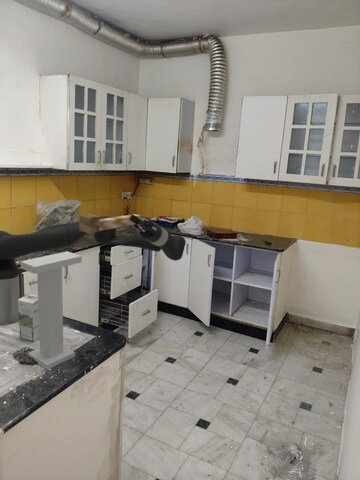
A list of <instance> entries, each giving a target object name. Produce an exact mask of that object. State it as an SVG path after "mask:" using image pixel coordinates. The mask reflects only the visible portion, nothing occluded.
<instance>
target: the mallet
mask: <svg viewBox="0 0 360 480" xmlns="http://www.w3.org/2000/svg"><path fill="white" fill-rule="evenodd" d="M131 215H135V216H136V217H138V218H141V215H140V214H135V213H133V214H128V215H125V216H123V215H120V216H119V215H118V216H113V217H112V216H111V217H112V218H105V219H100V217H101V216H100V215H94V214H91V213H88V214H87V213H85V214H79V218H78V222H79V231H82V232H86V233H87V234H94V233H96V232H100V231H102V230H107V229H113V228H116V229H118V228H123V227H129V225H135V223H134V222H132V221H131V220H130V217H131Z"/></svg>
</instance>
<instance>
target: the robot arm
mask: <svg viewBox="0 0 360 480" xmlns="http://www.w3.org/2000/svg"><path fill="white" fill-rule="evenodd" d="M125 215H129V214H128V213H126V212H124V213H123V215H122V216H125ZM130 215H131V217H130V220H131V221H132V222H134V223H135V225H129V226H128V227H129V228H134V229H136V231H137V233H135V234H131V235H127V236H118V235H116V234H117V228H113V229H107V230H102V231H100V232H96V233H93V239H94V241H95V242H97V243H99V244H103V245H109V246H110V245H111V246H120V247H131V248H132V247H133V248H139V249H145V250H149V251H152V252H161V251H162V252H163V254H164V255H165V256H166V258H168V259H170V260H171V261H180V260H181V259H182V258H183V256H184V255H183V254H184V251H185V246H186V243H187V240H186V239H185V238H184V236H182V235H178V234H177V235H176V234H175V235H173V234H171V233H170V232H168V231H167V230H166V229H165V228H164V227H162V226H161V225H159V224H158V223H157V222H155V221H153V220H146V219H143V218H142V217H140V218H138V217H136V216H135V215H132V214H130ZM105 218H112V216H108V215H104V216H100V219H105ZM87 234H88V233H86V232H82V231H79V221H76V222H69V223H67V222H66V223H60V224H53V225H49V226H46V227H43V228H41V229H39V230H37V231H35V232H31V233H25V234H24V233H23V234H11V233H9V232H7V231H5V230H0V325H10V324H14V323H16V322H19V311H18V300H19V299H20V298H21V294H20V272H19V267H18V265H17V262H16V261H15V260H16V259H17V258H21V257H23V256H24V257H25V256H27V255H30V254H34V253H40V252H46V251H50V250H51V251H52V250H57V249H63V248H68V247H71V246H72V245H75V244H76V243H77V242H78V241H80V240H81V239H82V238H83V237H84V236H86V235H87Z"/></svg>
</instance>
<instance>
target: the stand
mask: <svg viewBox="0 0 360 480" xmlns="http://www.w3.org/2000/svg"><path fill="white" fill-rule="evenodd" d="M82 257H83V256H82V255H79V254H78V253H77V254H76V253H73V252H71V251H62V252H59V253H53V254H49V255H44V256H40V257H35V258H29V259H27V260H21V261H20V269H21V270H25V271H26V272H29V273H31V274H34V275H36V277H37V278H36V279H37V296H38V310H39V339H38V340H39V348H36V349H35V350H32V351H29V352H28V353H27V354H28V355H30V356H31V357H33V358H34V359H35V360H36V361H37V362H38V363H37V364H38V365H40V366H41V367H42V368H44V369H45V370H47V371H48V370H49V369H51V368H54V367H57V366H58V365H60V364H62V363H64V362H67V361H68V360H71V359H73V358H75V357H76V352H75V351H74V350H72V349H70V348H68V347H67V346H65V345H64V320H63V319H64V312H63V268H64V267H68V266H69V267H70V266H72V265H76V264H81V263H82V262H83V261H82ZM28 355H27V356H28Z"/></svg>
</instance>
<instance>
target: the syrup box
mask: <svg viewBox="0 0 360 480" xmlns="http://www.w3.org/2000/svg"><path fill="white" fill-rule="evenodd" d="M18 311H19V320H18V325H19V326H18V327H19V328H18V329H19V339H20V340H23V341H28V342H32V343H33V342H36V341H37V340H40V339H39V310H38V295H34V294H26V295H24V296H22V297H20V299H19V300H18Z"/></svg>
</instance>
